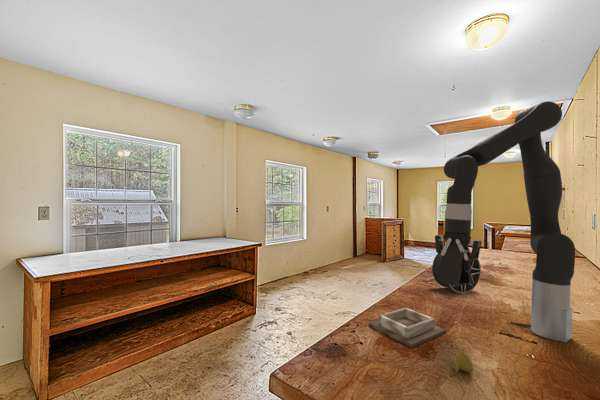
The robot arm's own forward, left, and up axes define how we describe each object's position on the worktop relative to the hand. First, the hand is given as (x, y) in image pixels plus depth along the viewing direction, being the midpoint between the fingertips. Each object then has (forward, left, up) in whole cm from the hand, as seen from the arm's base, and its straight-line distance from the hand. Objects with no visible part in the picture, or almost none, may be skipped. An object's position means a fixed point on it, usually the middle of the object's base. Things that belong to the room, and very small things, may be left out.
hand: (455, 269), depth 90 cm
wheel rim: (+23, -45, -20) cm, 54 cm away
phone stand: (0, 0, -4) cm, 4 cm away
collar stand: (+9, +13, -20) cm, 25 cm away
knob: (-12, +21, -20) cm, 32 cm away
